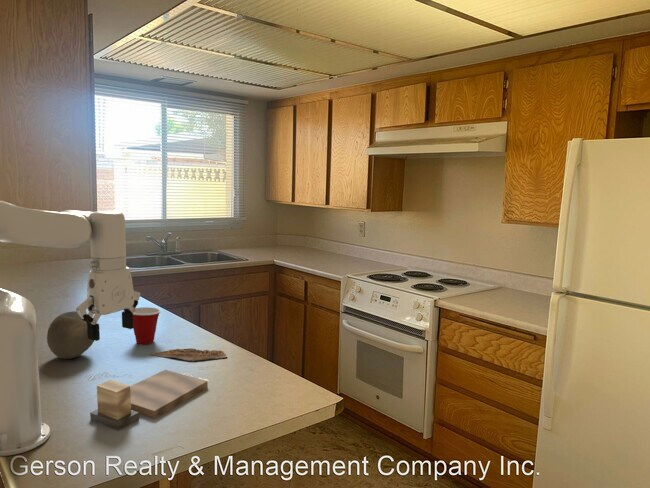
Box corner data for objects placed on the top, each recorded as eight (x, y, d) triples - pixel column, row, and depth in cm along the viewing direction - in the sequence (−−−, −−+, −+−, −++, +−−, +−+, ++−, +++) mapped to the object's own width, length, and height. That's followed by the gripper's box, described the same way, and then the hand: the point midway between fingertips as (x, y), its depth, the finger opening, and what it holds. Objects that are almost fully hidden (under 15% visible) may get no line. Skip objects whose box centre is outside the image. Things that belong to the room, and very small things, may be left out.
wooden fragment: (232, 352, 166) (232, 349, 166) (222, 365, 155) (222, 361, 155) (159, 348, 168) (159, 345, 168) (145, 360, 157) (145, 357, 157)
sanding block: (118, 431, 114) (117, 395, 113) (90, 420, 119) (88, 385, 117) (139, 420, 120) (137, 385, 118) (111, 410, 124) (110, 376, 123)
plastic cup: (168, 341, 174) (167, 308, 172) (141, 349, 165) (140, 315, 163) (149, 334, 180) (148, 303, 178) (123, 342, 171) (121, 310, 169)
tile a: (200, 387, 139) (200, 385, 139) (189, 384, 141) (189, 382, 141) (209, 382, 143) (209, 380, 143) (199, 379, 145) (199, 377, 145)
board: (154, 418, 120) (154, 410, 120) (109, 403, 127) (109, 396, 127) (207, 387, 138) (207, 380, 138) (165, 375, 145) (165, 369, 145)
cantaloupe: (48, 369, 147) (46, 321, 145) (47, 353, 159) (45, 309, 157) (99, 361, 155) (97, 315, 152) (94, 346, 167) (92, 304, 164)
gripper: (87, 271, 104) (90, 347, 107) (148, 259, 120) (150, 326, 122) (64, 267, 107) (68, 341, 110) (127, 256, 123) (129, 321, 125)
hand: (111, 333), depth 116 cm, fingers open, 9 cm apart
